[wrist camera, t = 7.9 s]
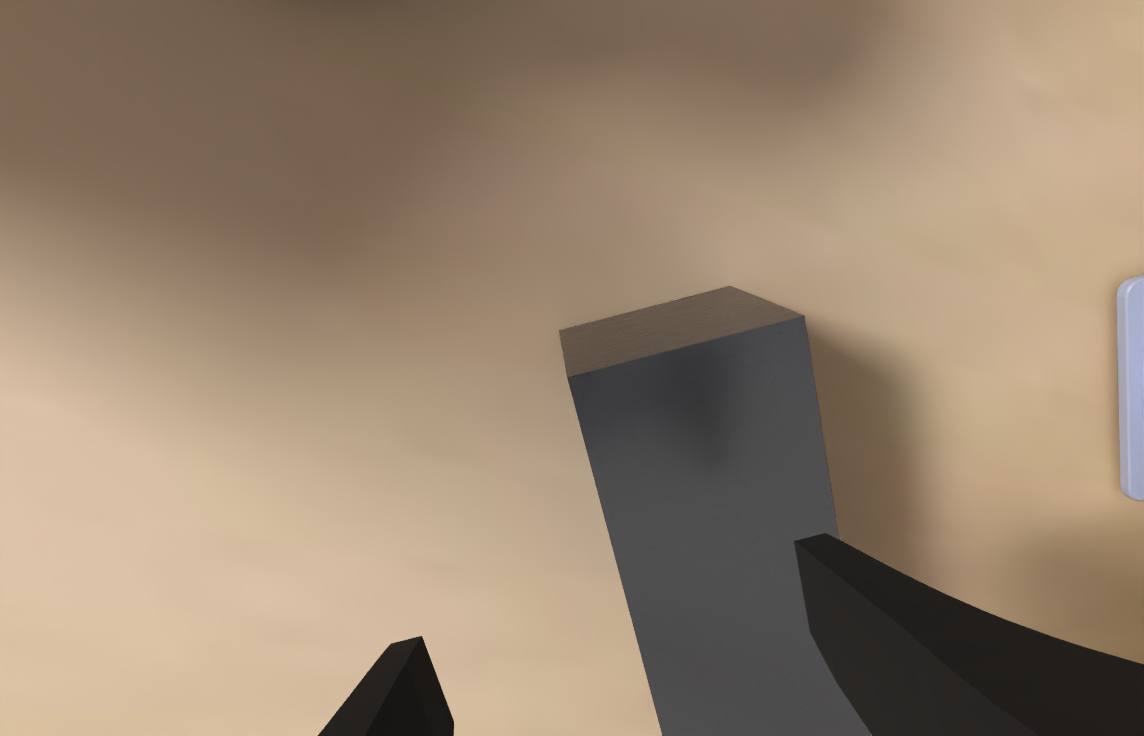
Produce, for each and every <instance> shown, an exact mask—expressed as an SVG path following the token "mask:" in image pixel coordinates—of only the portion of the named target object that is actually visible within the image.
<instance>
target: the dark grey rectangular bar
mask: <svg viewBox="0 0 1144 736" xmlns="http://www.w3.org/2000/svg"><path fill="white" fill-rule="evenodd" d="M559 333H560V339H561V344H562V350H563V356H564V361H565V367H566V373H567V378H568V382H569V385H570V389H571V393H572V397H573V400H574V404H575V408H576V412H577V416H578V419H579V423H580V427H581V431H582V434H583V438H584V442H585V446H586V449H587V453H588V457H589V461H590V464H591V468H592V472H593V476H594V480H595V483H596V487H597V491H598V495H599V498H600V502H601V506H602V510H603V513H604V517H605V521H606V525H607V529H608V532H609V536H610V540H611V544H612V547H613V551H614V555H615V559H616V562H617V566H618V570H619V574H620V577H621V581H622V585H623V589H624V593H625V596H626V600H627V604H628V608H629V611H630V615H631V619H632V623H633V626H634V630H635V634H636V638H637V642H638V645H639V649H640V653H641V657H642V660H643V664H644V668H645V672H646V675H647V679H648V683H649V687H650V690H651V694H652V698H653V702H654V706H655V709H656V713H657V717H658V721H659V724H660V728H661V732H662V736H870V734H869V730H868V728H867V727H866V725H865V724H864V723H863V721H862V720H861V718H860V717H859V715H858V714H857V712H856V711H855V709H854V708H853V706H852V705H851V703H850V702H849V700H848V699H847V697H846V696H845V695H844V693H843V692H842V690H841V688H840V687H839V685H838V684H837V682H836V681H835V679H834V677H833V675H832V673H831V671H830V669H829V668H828V666H827V664H826V662H825V660H824V658H823V656H822V654H821V652H820V651H819V649H818V647H817V645H816V643H815V641H814V639H813V637H812V635H811V633H810V629H809V624H808V618H807V613H806V607H805V601H804V596H803V590H802V584H801V579H800V573H799V568H798V562H797V556H796V551H795V545H794V541H796V540H800V539H804V538H808V537H811V536H815V535H819V534H823V533H827V534H829V535H831V536H833V537H835V538H837V539H839V535H838V529H837V522H836V516H835V509H834V503H833V497H832V490H831V484H830V477H829V471H828V465H827V458H826V452H825V445H824V439H823V432H822V426H821V420H820V413H819V407H818V400H817V394H816V388H815V381H814V375H813V368H812V362H811V356H810V349H809V343H808V336H807V330H806V324H805V317H804V315H801V314H799V313H796V312H794V311H791V310H789V309H786V308H784V307H781V306H779V305H776V304H774V303H771V302H769V301H766V300H764V299H761V298H759V297H756V296H754V295H751V294H749V293H746V292H744V291H741V290H739V289H736V288H734V287H731V286H729V287H725V288H721V289H717V290H713V291H709V292H706V293H702V294H698V295H694V296H690V297H686V298H682V299H679V300H675V301H671V302H667V303H663V304H659V305H656V306H652V307H648V308H644V309H640V310H636V311H632V312H629V313H625V314H621V315H617V316H613V317H609V318H606V319H602V320H598V321H594V322H590V323H586V324H583V325H579V326H575V327H571V328H567V329H563V330H559Z"/></svg>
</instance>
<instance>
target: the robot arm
mask: <svg viewBox="0 0 1144 736" xmlns="http://www.w3.org/2000/svg"><path fill="white" fill-rule="evenodd" d="M1117 340H1118V388H1119V436H1120V483H1121V491H1122V493H1123V494H1124V495H1125V496H1127V497H1129V498H1131V499H1134V500H1137V501H1140V500H1144V275H1140V276H1136V277H1132V278H1130V279H1128V280H1126V281H1124V282H1123V283H1122V284H1121V285H1120V287H1119V289H1118V291H1117ZM794 545H795V551H796V556H797V562H798V568H799V573H800V579H801V584H802V590H803V596H804V601H805V607H806V613H807V618H808V624H809V629H810V633H811V635H812V637H813V639H814V641H815V643H816V645H817V647H818V649H819V651H820V652H821V654H822V656H823V658H824V660H825V662H826V664H827V666H828V668H829V669H830V671H831V673H832V675H833V677H834V679H835V681H836V682H837V684H838V685H839V687H840V688H841V690H842V692H843V693H844V695H845V696H846V697H847V699H848V700H849V702H850V703H851V705H852V706H853V708H854V709H855V711H856V712H857V714H858V715H859V717H860V718H861V720H862V721H863V723H864V724H865V725H866V727H867V728H868V730H869V731H870V733H871V734H872V736H1144V664H1140V663H1136V662H1133V661H1130V660H1126V659H1123V658H1119V657H1116V656H1113V655H1109V654H1106V653H1102V652H1099V651H1095V650H1092V649H1089V648H1085V647H1082V646H1079V645H1076V644H1073V643H1070V642H1067V641H1064V640H1060V639H1057V638H1054V637H1052V636H1049V635H1046V634H1043V633H1041V632H1038V631H1035V630H1032V629H1030V628H1027V627H1024V626H1021V625H1019V624H1016V623H1013V622H1010V621H1008V620H1005V619H1003V618H1000V617H998V616H995V615H993V614H990V613H988V612H985V611H983V610H980V609H978V608H976V607H974V606H971V605H969V604H967V603H964V602H962V601H960V600H958V599H955V598H953V597H951V596H948V595H946V594H944V593H942V592H940V591H938V590H936V589H933V588H931V587H929V586H927V585H925V584H923V583H921V582H919V581H917V580H915V579H913V578H911V577H909V576H907V575H905V574H903V573H901V572H899V571H897V570H895V569H893V568H891V567H889V566H887V565H885V564H883V563H882V562H880V561H878V560H876V559H874V558H872V557H870V556H868V555H867V554H865V553H863V552H861V551H859V550H857V549H855V548H854V547H852V546H850V545H848V544H846V543H844V542H842V541H840V540H839V539H837V538H835V537H833V536H831V535H829V534H827V533H823V534H819V535H815V536H811V537H808V538H804V539H800V540H796V541H794ZM318 736H454V721H453V718H452V715H451V713H450V710H449V707H448V705H447V702H446V699H445V697H444V694H443V691H442V689H441V686H440V683H439V680H438V678H437V675H436V672H435V670H434V667H433V664H432V662H431V659H430V656H429V654H428V651H427V648H426V646H425V643H424V640H423V638H422V636H420V637H416V638H412V639H408V640H404V641H400V642H396V643H392V644H390V645H389V647H388V648H387V649H386V650H385V651H384V652H383V654H382V655H381V656H380V657H379V658H378V660H377V661H376V662H375V664H374V665H373V666H372V667H371V669H370V670H369V671H368V672H367V674H366V675H365V676H364V678H363V679H362V680H361V682H360V683H359V684H358V685H357V687H356V688H355V689H354V691H353V692H352V693H351V694H350V696H349V697H348V698H347V700H346V701H345V702H344V703H343V705H342V706H341V707H340V708H339V710H338V711H337V712H336V713H335V715H334V716H333V717H332V719H331V720H330V721H329V722H328V724H327V725H326V726H325V727H324V729H323V730H322V731H321V732H320V734H319V735H318Z"/></svg>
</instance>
